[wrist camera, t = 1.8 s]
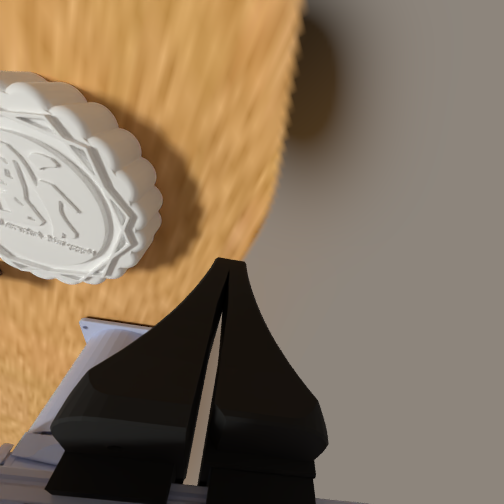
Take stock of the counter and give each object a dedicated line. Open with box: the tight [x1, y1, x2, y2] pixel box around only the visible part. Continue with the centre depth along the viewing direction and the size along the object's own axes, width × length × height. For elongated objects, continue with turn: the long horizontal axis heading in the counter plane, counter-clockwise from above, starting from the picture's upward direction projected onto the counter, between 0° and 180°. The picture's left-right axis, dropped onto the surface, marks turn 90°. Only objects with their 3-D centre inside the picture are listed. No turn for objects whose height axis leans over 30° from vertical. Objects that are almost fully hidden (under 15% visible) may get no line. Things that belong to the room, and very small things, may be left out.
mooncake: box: [0, 71, 163, 284], centre depth 14 cm, size 12×12×4 cm
